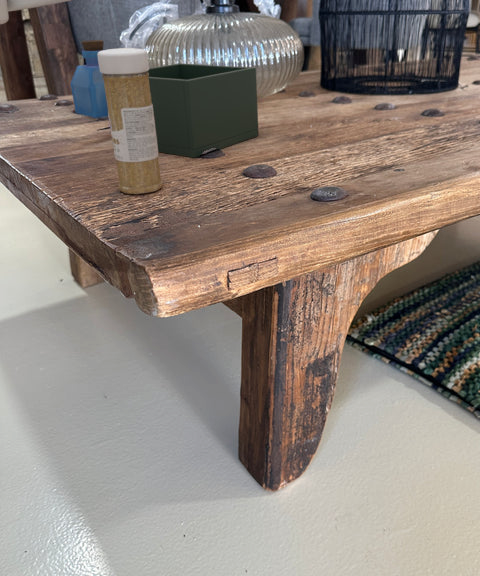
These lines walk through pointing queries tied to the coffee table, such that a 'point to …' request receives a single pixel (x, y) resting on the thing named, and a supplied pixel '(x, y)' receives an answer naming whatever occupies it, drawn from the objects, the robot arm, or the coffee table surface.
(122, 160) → the sprinkles bottle
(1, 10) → the robot arm
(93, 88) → the perfume bottle
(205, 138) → the square planter pot
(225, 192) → the coffee table surface
